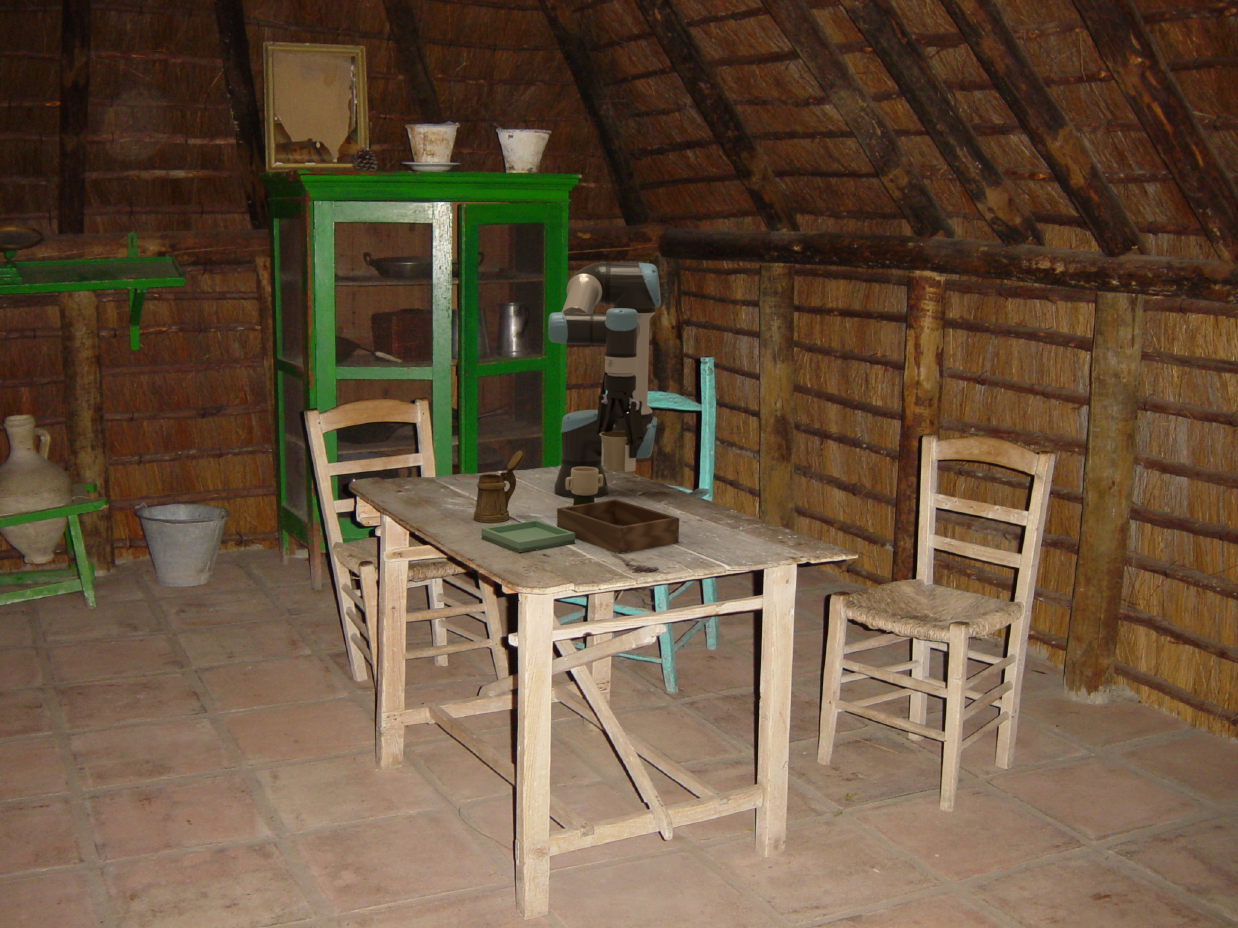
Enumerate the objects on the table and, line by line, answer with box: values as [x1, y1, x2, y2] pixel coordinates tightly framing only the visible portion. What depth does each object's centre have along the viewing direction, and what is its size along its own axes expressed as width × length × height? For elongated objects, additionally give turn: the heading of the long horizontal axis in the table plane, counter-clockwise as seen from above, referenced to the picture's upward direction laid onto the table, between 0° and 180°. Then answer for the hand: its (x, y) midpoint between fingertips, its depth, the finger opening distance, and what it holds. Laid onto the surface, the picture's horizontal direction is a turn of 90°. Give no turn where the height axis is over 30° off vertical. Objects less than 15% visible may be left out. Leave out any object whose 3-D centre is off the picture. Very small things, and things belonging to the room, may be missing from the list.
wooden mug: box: [473, 447, 526, 524], centre depth 309 cm, size 9×14×18 cm, turn 112°
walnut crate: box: [556, 499, 680, 554], centre depth 294 cm, size 18×24×6 cm
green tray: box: [481, 519, 576, 553], centre depth 289 cm, size 16×16×2 cm
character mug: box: [566, 467, 603, 506], centre depth 312 cm, size 11×7×13 cm, turn 120°
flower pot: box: [600, 431, 627, 472], centre depth 291 cm, size 9×9×9 cm
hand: (618, 467), depth 291 cm, fingers closed on flower pot, 8 cm apart
